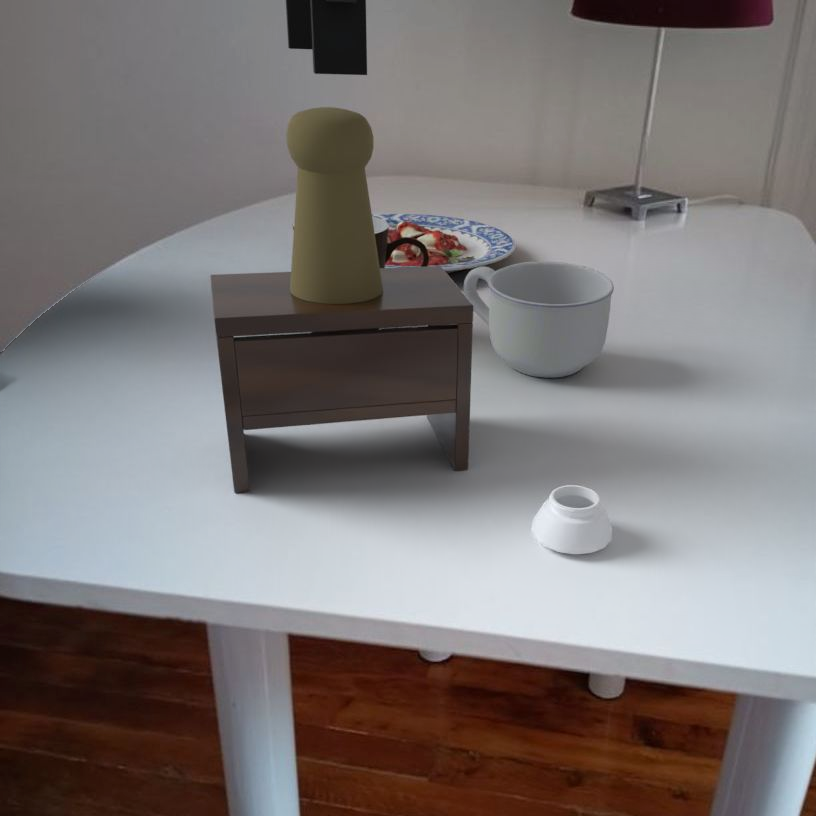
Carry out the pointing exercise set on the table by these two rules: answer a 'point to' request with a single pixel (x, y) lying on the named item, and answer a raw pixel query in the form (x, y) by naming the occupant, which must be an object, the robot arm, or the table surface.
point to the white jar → (572, 521)
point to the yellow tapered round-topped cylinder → (332, 208)
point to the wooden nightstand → (344, 357)
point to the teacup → (544, 315)
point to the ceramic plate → (446, 241)
